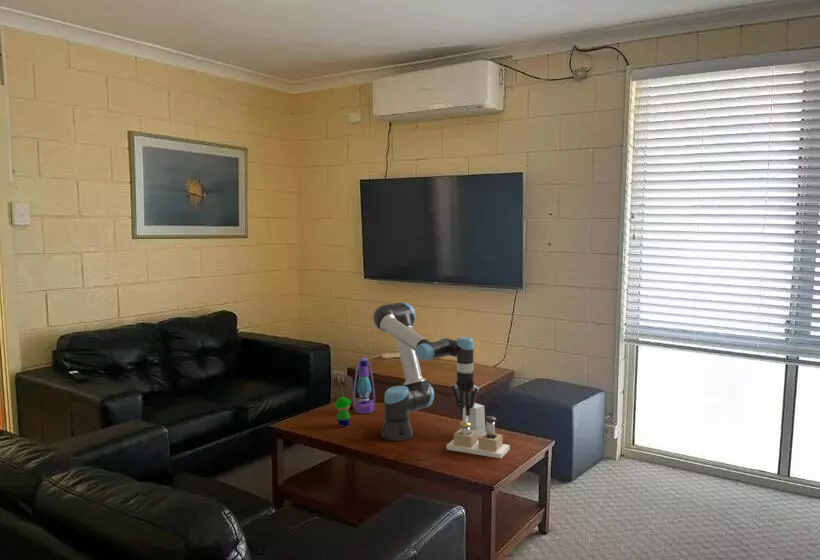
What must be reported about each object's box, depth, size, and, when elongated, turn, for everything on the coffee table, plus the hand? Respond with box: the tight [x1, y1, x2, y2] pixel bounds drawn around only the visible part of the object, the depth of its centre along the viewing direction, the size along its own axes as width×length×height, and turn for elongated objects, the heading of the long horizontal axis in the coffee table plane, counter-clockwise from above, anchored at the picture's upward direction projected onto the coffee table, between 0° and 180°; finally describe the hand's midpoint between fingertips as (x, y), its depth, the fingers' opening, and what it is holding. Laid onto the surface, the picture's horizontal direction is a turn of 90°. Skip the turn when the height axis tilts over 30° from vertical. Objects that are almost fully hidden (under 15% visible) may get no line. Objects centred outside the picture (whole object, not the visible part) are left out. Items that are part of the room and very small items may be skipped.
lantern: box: [352, 356, 376, 414], centre depth 342 cm, size 13×12×30 cm
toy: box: [333, 396, 354, 427], centre depth 318 cm, size 9×9×15 cm
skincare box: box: [465, 402, 486, 439], centre depth 302 cm, size 8×6×15 cm
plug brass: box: [459, 420, 471, 435], centre depth 286 cm, size 5×5×9 cm
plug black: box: [485, 415, 497, 439], centre depth 280 cm, size 5×5×9 cm
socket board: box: [445, 428, 511, 459], centre depth 283 cm, size 26×12×7 cm, turn 64°
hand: (465, 422), depth 285 cm, fingers closed
